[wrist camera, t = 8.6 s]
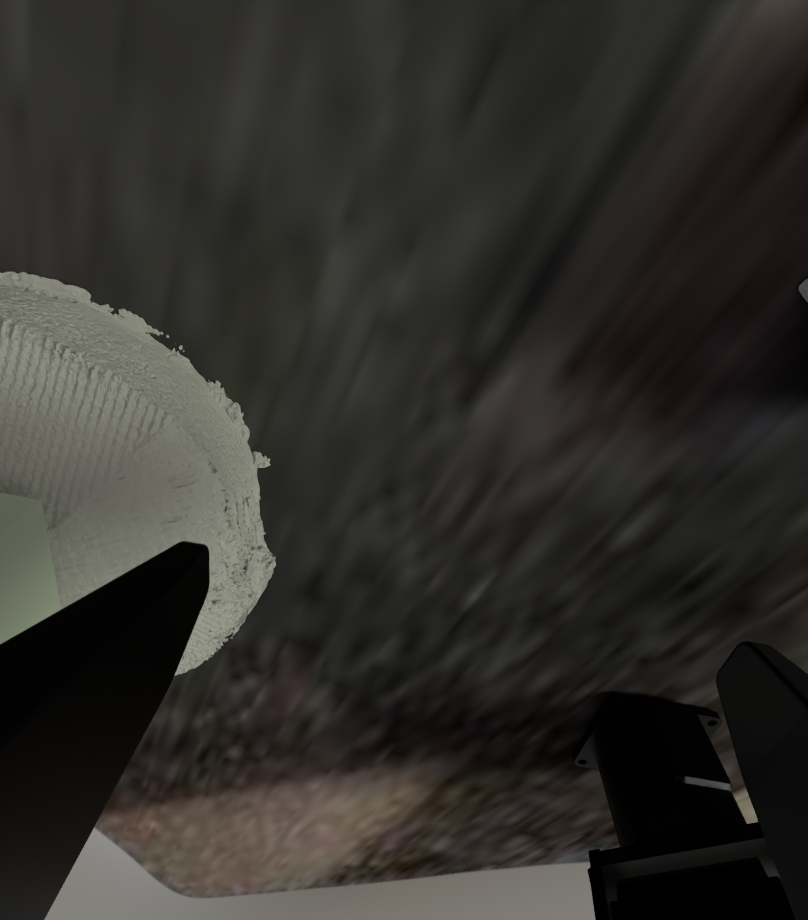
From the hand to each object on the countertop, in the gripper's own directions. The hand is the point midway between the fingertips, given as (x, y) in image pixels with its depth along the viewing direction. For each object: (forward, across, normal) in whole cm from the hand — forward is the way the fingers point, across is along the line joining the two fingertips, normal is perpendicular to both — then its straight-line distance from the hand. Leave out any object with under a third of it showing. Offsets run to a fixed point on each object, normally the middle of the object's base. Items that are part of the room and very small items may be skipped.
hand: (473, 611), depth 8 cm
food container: (+14, +16, +10) cm, 23 cm away
